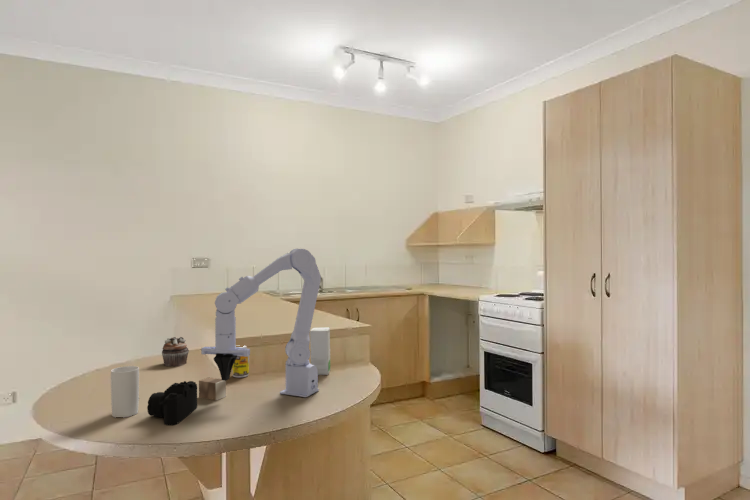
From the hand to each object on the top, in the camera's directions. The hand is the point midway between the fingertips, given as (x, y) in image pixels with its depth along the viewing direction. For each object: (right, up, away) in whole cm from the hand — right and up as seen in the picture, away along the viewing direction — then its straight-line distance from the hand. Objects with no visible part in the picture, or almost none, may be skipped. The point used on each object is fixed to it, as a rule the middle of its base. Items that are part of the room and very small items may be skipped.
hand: (225, 379), depth 139 cm
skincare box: (+24, -6, +30) cm, 39 cm away
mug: (-23, -6, -11) cm, 26 cm away
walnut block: (-1, -3, +1) cm, 4 cm away
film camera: (-10, -6, -14) cm, 18 cm away
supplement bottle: (-3, -6, +25) cm, 26 cm away
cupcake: (-32, -6, +42) cm, 53 cm away
